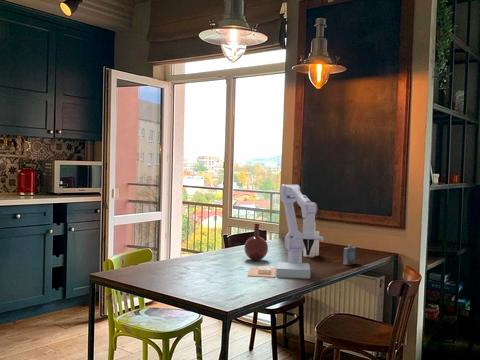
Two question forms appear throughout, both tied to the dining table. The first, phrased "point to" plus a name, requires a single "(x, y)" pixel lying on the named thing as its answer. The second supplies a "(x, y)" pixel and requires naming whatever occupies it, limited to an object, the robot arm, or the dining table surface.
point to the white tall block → (313, 247)
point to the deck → (293, 270)
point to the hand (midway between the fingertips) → (307, 254)
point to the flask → (349, 255)
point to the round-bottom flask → (256, 246)
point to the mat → (254, 273)
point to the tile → (264, 270)
